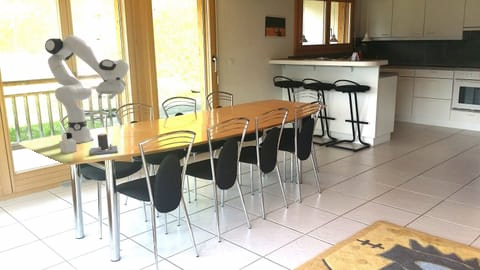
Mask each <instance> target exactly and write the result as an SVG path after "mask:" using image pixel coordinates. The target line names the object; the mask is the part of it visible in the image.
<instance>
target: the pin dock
mask: <svg viewBox="0 0 480 270" xmlns="http://www.w3.org/2000/svg"><path fill="white" fill-rule="evenodd" d="M118 153H119V151H118V145H113V143H110V144H109V145H108V149H106V150H101V146H99V145H98V147H91V148H90V151H89V156H99V155H107V154H110V155H111V154H118Z"/></svg>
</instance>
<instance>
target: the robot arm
mask: <svg viewBox="0 0 480 270" xmlns="http://www.w3.org/2000/svg"><path fill="white" fill-rule="evenodd" d="M44 48H45V51H46V52H47V53H49V54H51V56H49V58H48V59H47V65H48V67H49V69H50V71H51V73H52V75H53V77H54V78H55V81H56V82H57V83H58V84H59V85H61V86H60V87H58V88H56V89H55V92H54V96H55V99H56V100H57V101H58V102H60V103H61V104H62V105H63V106H64V108H65V110H66V113H67V125H68V128H67V130H66V133H72V140H75V141H76V144H81V143H87V142H91V141H94V137H92V136H91V131H90V128H89V127H88V122H87V120H86V112H85V111H86V110H85V109H84V107H82V106H80V105H79V104H78V101H85V100H86V99H89V98H90V97H91V96H92V94H93V93H92V88H91V86H90V85H88V84H86V83H85V82H82V81H81V80H80V79H78V78H77V77H76V76H75V75H74V74H73V72H72V70H71V68H69V66H68V64H67V62H66V61H69V60H70V59H71V58H72V57H73V56H74V55H75V56H76V57H78V59H80V60H81V61H83V62H84V63H85V64H87V65H88V66H89V67H90V68H91V69H92V70H94V71H95V72H96V73H97V74H98V75H100V77H101V79H102V80H103V81H102V82H100V83H99V84H98V85H97V87H96V89H95V91H96V93H97V94H98V96H97V99H99V100H100V99H101V100H102V99H103V96H102V95H109V96H108V98H109V99H110V100H113V98H114V97H116V96H117V95H122V94H123V92H124V91H125V89H126V87H127V85H128V84H127V83H126V81H125V80H124V78H125V77H126V75H127V74H128V71H129V68H130V67H129V63H128V62H127V61H125V60H123V59H118V60H111V59H108V58H107V59H106V58H105V59H103V60H101V61H99V60H98V59H97V57H96V55H95V53H94V50H93V49H92V47H91V45H89V43H88V42H86V41H85V40H84V39H82V38H81V37H79V36H77V35H73V34H69V35H67V36H66V37H65V39H61V38H57V37H56V38H49V39H47V40H46V41H45V44H44Z"/></svg>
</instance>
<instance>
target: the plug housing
mask: <svg viewBox="0 0 480 270" xmlns="http://www.w3.org/2000/svg"><path fill="white" fill-rule="evenodd" d="M97 143H98V145H97V146H98V147H99V146H101V150H106V149H108V146H109V141H108V134H107V133H99V134H97Z"/></svg>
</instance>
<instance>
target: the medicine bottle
mask: <svg viewBox="0 0 480 270" xmlns="http://www.w3.org/2000/svg"><path fill="white" fill-rule="evenodd" d="M58 144H59V150H60V153H62V154H66V155H67V154H72V153H75V152H77V151H78V150H77V143H76V141H75V140H72V133H67V132H64V133H61V140H60V141H59V143H58Z"/></svg>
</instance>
